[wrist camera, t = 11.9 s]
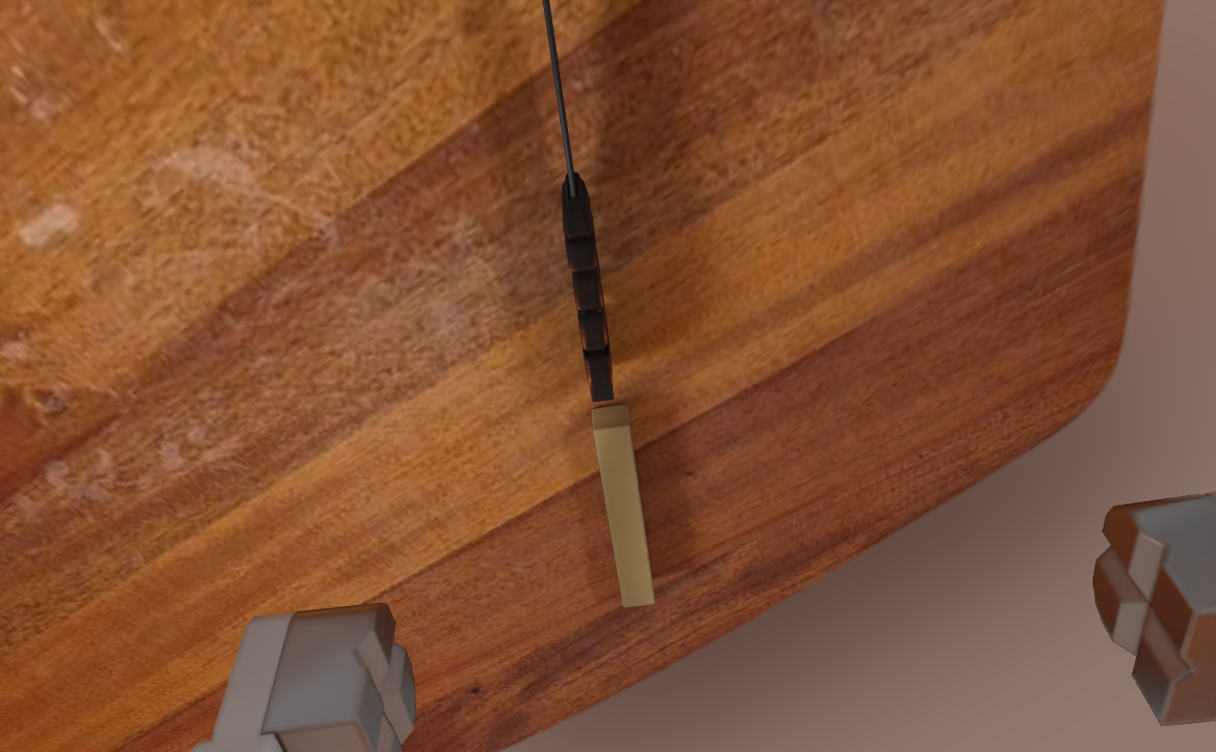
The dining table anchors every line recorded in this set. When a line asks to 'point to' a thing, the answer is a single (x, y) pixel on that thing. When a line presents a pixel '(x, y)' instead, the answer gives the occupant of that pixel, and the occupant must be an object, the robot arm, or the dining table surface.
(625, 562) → the wooden stick
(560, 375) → the dining table surface
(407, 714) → the robot arm
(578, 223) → the knife
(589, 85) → the dining table surface
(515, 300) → the dining table surface
